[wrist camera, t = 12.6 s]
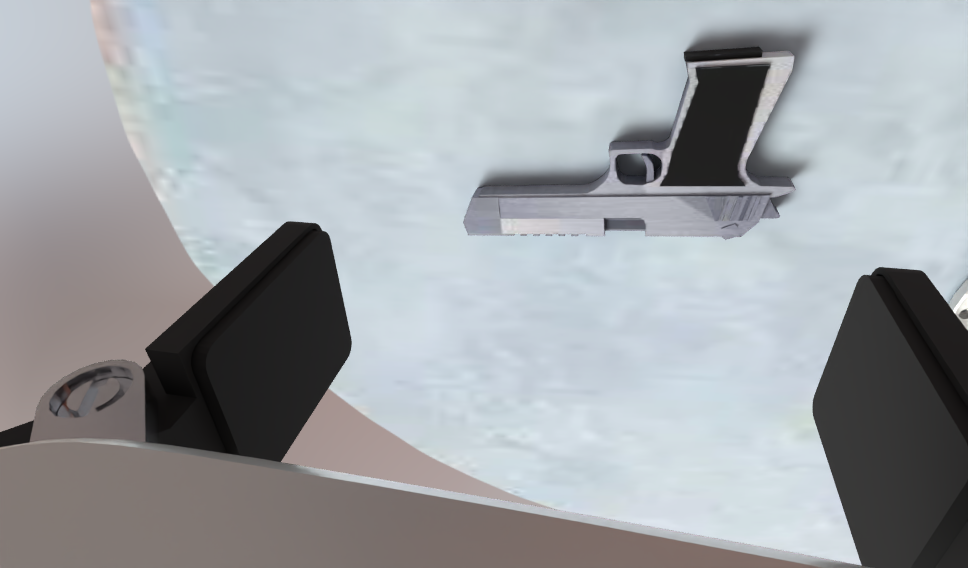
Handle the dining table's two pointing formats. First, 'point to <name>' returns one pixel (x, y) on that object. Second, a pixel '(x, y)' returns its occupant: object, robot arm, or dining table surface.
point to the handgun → (667, 166)
